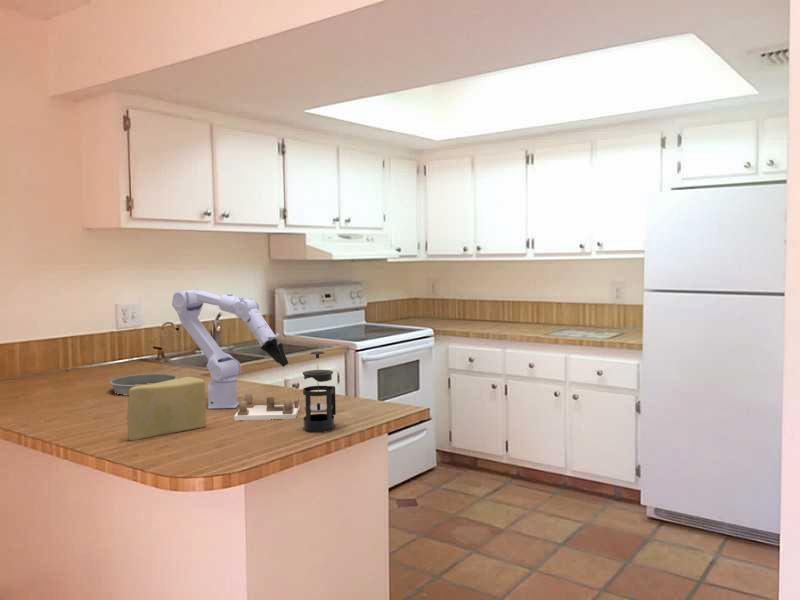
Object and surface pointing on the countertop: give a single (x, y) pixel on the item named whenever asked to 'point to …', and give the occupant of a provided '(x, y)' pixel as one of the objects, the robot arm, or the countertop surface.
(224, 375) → the robot arm
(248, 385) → the countertop surface
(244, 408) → the white board with posts
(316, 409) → the french press
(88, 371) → the countertop surface
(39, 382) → the countertop surface
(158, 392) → the cheese
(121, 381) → the cake pan
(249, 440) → the countertop surface
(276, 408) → the hinged leg
